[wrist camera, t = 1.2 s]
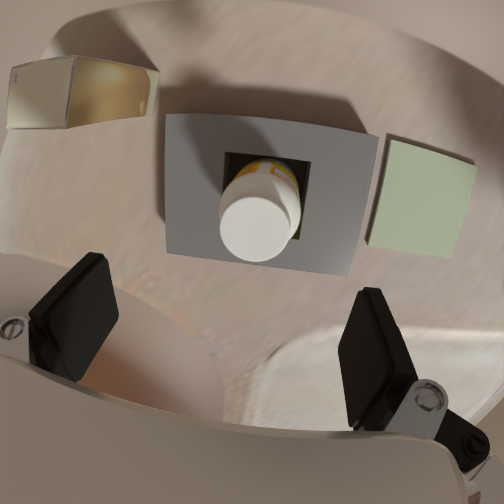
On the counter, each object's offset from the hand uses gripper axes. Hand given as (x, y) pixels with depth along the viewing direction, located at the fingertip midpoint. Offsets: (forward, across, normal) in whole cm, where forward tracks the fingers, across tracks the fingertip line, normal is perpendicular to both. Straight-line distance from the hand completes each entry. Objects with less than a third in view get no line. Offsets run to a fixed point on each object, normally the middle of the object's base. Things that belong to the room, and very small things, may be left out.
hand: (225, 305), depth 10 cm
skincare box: (+17, +12, -8) cm, 22 cm away
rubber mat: (+16, -16, -1) cm, 23 cm away
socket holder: (+16, -1, 0) cm, 16 cm away
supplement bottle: (+17, -1, 0) cm, 17 cm away
